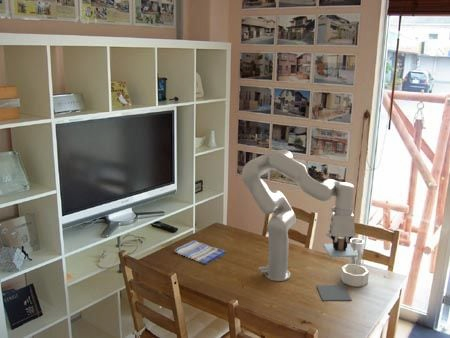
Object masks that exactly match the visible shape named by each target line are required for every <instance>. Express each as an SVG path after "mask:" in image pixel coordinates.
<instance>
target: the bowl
mask: <svg viewBox="0 0 450 338" xmlns="http://www.w3.org/2000/svg"><path fill="white" fill-rule="evenodd" d="M369 274H370V271H369V270H368V268H367V267H366V266H363V265H358V264H349V263H346V264H345V265H343V266H341V270H340V279H341V281H342V283H344V285H345V284H346V285H347V286H350V287H358V288H359V287H364V286H365V285H366V284H368V283H369Z"/></svg>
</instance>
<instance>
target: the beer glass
mask: <svg viewBox="0 0 450 338" xmlns="http://www.w3.org/2000/svg"><path fill="white" fill-rule="evenodd" d="M349 244H350V246H351V247H352V249H353V250H354V251H355V253H356V254H357V257H349V263H348V264H358V265H361V261H362V259H363V258H362V257H363V255H364V249H365V242H364V240H363V239H361V238H356V237H353V238H351V239H350V240H349ZM361 266H362V265H361Z"/></svg>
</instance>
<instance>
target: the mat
mask: <svg viewBox="0 0 450 338" xmlns="http://www.w3.org/2000/svg"><path fill="white" fill-rule="evenodd" d="M316 289H317V291H318V293H319V295H320V298H321V301H323V302H328V301H329V302H330V301H331V302H335V301H336V302H340V301H341V302H344V301H345V302H349V301H353V300H352V297H351V296H350V293H349V291H348V290H347V287H346V286H345V284H330V285H329V284H325V285H324V284H320V285H319V284H316Z"/></svg>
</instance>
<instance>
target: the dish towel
mask: <svg viewBox="0 0 450 338" xmlns="http://www.w3.org/2000/svg"><path fill="white" fill-rule="evenodd" d="M173 252H176V253H178V254H177V255H179V254H180V255H179V256H181V255H183V256H185V257H184V258H186V257H188V258H187V259H189V258H191V259H193V260H192V261H194V260H195V262H197V261H198V262H197V263H199V262H201V263H200V264H202V263H204V264H203V265H208V264H210V263H212V262H214V261H216V260H217V258H218V259H219V257H220V258H222V257H223V256H225V255H226V251H225V250H224V249H220V248H217V247H215V246H210V245H207V244H205V243H202V242H198V241H197V240H196V239H195V240H191V241H190V242H187V243H185V244H183V245H181V246H179V247H177V248H175V249H174V251H173ZM176 253H175V254H176ZM183 256H182V257H183ZM191 259H190V260H191ZM215 259H216V260H215ZM213 260H214V261H213ZM211 261H212V262H211ZM209 262H210V263H209ZM207 263H208V264H207Z"/></svg>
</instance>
